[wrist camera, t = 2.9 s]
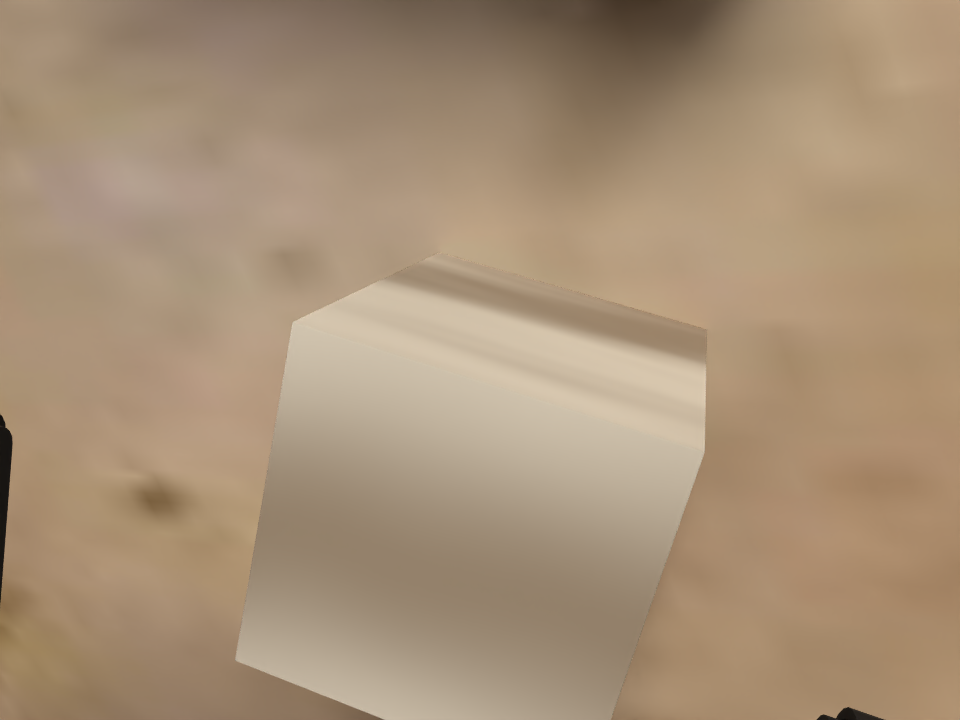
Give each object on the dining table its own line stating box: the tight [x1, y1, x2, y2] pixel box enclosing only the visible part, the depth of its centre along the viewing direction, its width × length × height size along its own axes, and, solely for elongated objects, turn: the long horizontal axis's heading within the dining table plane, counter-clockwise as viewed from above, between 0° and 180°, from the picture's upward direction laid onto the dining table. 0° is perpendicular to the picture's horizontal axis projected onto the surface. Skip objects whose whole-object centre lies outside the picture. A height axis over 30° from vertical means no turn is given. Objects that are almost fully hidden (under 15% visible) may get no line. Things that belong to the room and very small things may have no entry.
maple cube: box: [235, 252, 707, 720], centre depth 13 cm, size 5×5×6 cm
